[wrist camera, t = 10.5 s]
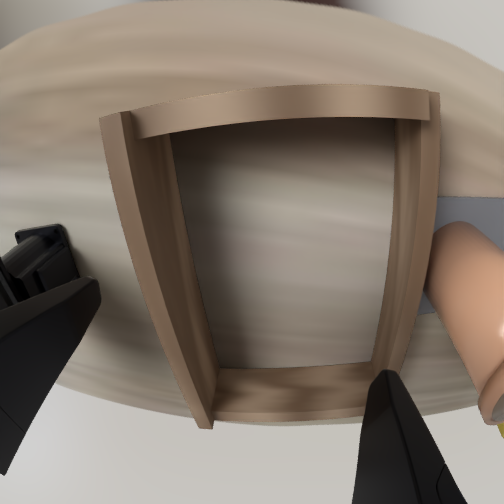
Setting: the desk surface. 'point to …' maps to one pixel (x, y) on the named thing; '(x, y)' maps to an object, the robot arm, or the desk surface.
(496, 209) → the potting mat
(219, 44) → the desk surface
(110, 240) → the desk surface
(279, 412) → the frame
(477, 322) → the terracotta pot
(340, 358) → the desk surface
